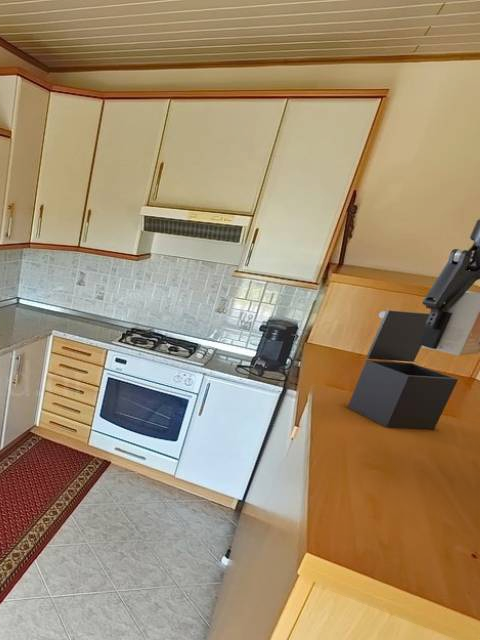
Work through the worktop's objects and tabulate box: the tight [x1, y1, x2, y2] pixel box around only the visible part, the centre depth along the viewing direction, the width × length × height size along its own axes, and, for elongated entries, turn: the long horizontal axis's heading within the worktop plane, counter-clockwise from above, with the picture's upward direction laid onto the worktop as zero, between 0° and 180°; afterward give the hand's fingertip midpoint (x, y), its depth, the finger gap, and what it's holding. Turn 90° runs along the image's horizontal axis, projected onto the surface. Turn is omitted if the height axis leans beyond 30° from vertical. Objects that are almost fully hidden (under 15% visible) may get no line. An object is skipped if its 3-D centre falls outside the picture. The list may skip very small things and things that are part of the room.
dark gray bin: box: [347, 359, 459, 431], centre depth 117 cm, size 11×12×13 cm
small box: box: [421, 290, 480, 357], centre depth 87 cm, size 8×6×10 cm
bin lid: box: [366, 309, 430, 363], centre depth 120 cm, size 12×12×6 cm
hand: (450, 348), depth 89 cm, fingers closed on small box, 9 cm apart
